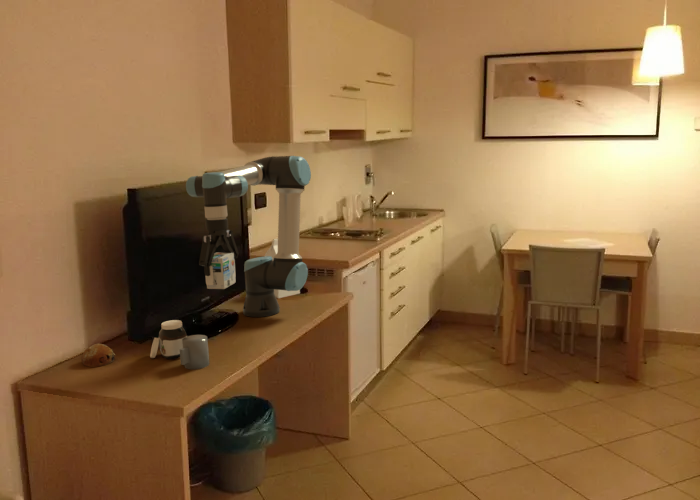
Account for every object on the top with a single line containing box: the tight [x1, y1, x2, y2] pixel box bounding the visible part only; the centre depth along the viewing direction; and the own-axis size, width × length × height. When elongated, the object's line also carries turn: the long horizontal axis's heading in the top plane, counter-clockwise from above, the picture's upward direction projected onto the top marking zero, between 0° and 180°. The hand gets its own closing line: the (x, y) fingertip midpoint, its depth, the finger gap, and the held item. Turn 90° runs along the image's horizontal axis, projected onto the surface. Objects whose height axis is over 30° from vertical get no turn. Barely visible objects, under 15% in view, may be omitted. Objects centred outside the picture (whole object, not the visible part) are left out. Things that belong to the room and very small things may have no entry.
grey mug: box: [179, 334, 210, 370], centre depth 211 cm, size 11×8×9 cm
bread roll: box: [81, 343, 116, 368], centre depth 219 cm, size 10×10×8 cm
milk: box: [264, 238, 301, 299], centre depth 300 cm, size 12×12×26 cm
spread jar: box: [149, 319, 188, 360], centre depth 221 cm, size 12×11×12 cm
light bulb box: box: [206, 252, 236, 290], centre depth 224 cm, size 11×7×11 cm, turn 168°
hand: (221, 280), depth 225 cm, fingers closed on light bulb box, 11 cm apart
